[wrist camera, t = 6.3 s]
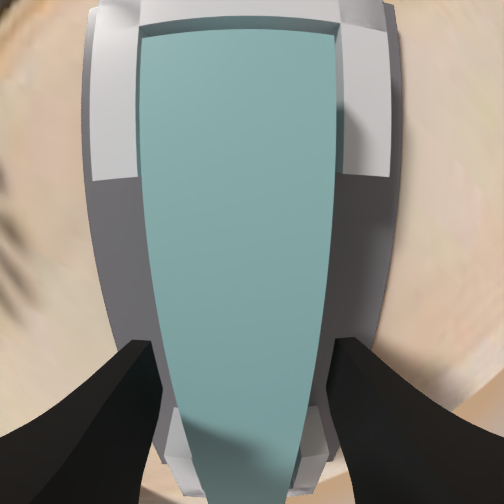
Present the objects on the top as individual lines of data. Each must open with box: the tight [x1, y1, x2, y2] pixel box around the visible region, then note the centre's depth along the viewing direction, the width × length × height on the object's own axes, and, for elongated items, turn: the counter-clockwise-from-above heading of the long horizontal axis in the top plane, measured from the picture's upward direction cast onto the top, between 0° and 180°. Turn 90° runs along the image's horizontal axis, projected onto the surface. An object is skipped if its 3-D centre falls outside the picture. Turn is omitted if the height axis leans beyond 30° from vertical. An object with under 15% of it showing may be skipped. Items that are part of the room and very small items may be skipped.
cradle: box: [81, 0, 402, 498], centre depth 10 cm, size 24×11×4 cm, turn 0°
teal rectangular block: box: [139, 29, 336, 504], centre depth 9 cm, size 16×3×5 cm, turn 0°
